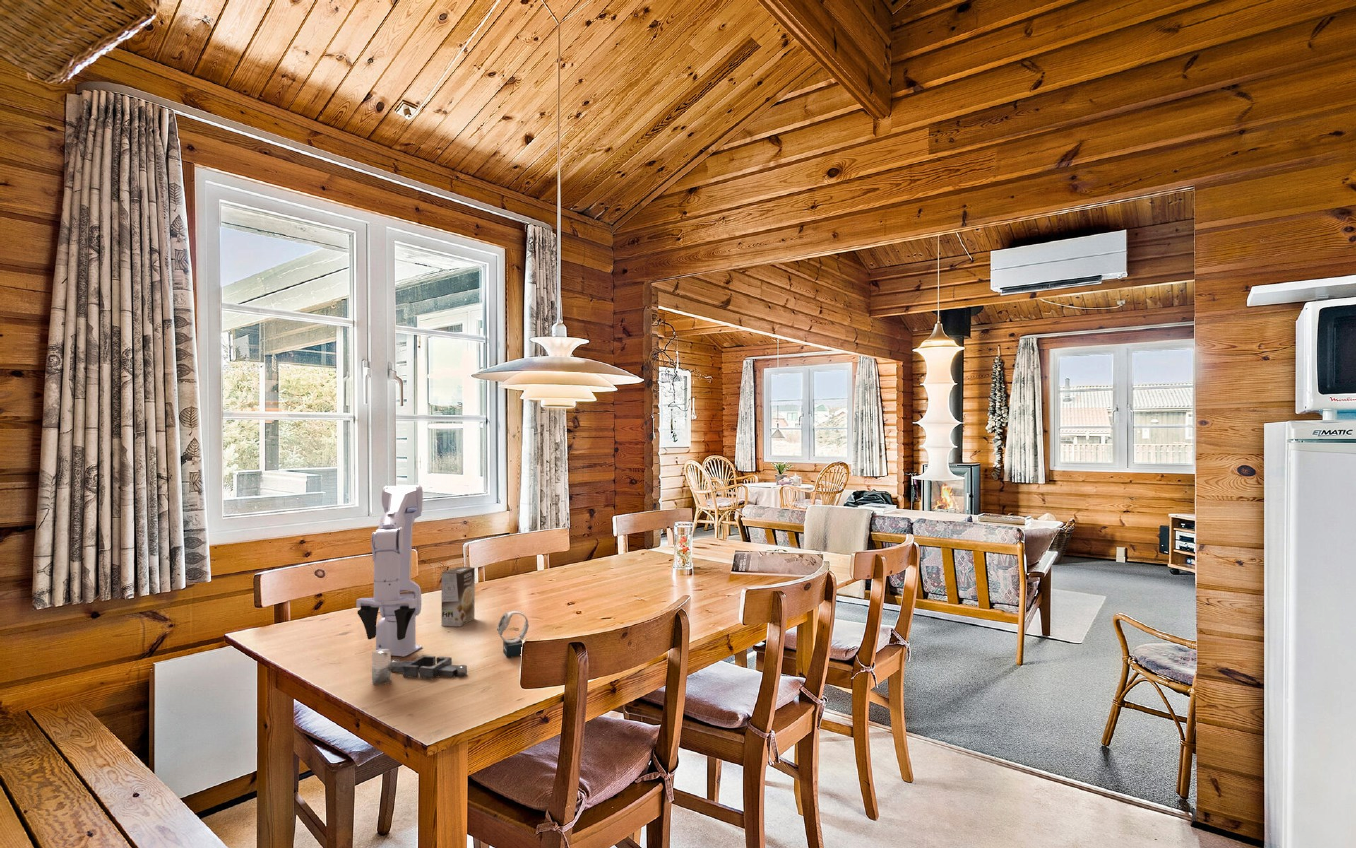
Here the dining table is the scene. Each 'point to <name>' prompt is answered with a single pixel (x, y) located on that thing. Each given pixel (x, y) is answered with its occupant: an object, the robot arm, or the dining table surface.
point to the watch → (511, 645)
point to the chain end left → (412, 665)
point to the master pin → (381, 666)
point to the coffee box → (458, 596)
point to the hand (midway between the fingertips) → (386, 638)
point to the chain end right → (443, 669)
